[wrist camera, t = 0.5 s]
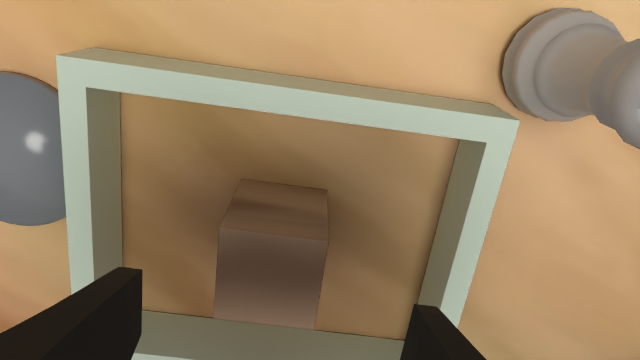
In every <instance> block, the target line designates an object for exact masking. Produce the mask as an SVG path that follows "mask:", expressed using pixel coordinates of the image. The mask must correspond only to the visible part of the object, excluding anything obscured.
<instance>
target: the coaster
mask: <svg viewBox="0 0 640 360" xmlns="http://www.w3.org/2000/svg"><path fill="white" fill-rule="evenodd" d="M64 217H66V204H65V189H64V173H63V158H62V142H61V127H60V111H59V96H58V91H57V90H56V89H55V88H53V87H51V86H50V85H48V84H46V83H45V82H43V81H40V80H38V79H36V78H34V77H31V76H28V75H24V74H20V73H15V72H7V71H0V221H3V222H6V223H10V224H16V225H25V226H35V225H43V224H49V223H52V222H55V221H58V220H60V219H62V218H64Z"/></svg>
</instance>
